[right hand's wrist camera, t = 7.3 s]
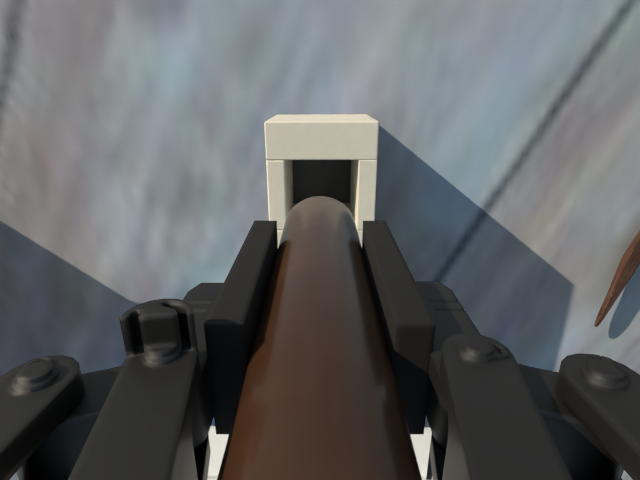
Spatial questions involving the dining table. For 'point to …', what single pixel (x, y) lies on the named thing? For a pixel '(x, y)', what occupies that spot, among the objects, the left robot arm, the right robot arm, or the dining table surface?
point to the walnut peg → (319, 366)
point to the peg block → (321, 144)
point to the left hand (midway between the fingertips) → (321, 395)
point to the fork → (621, 277)
